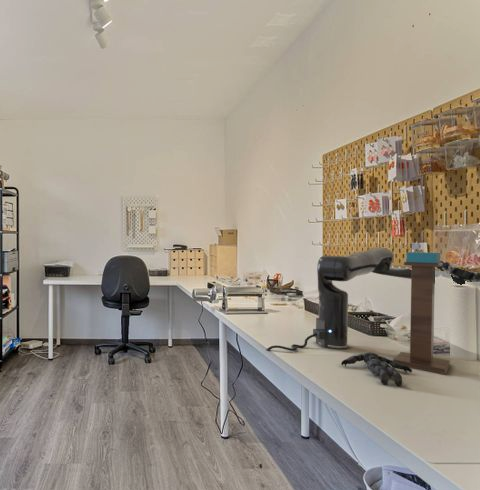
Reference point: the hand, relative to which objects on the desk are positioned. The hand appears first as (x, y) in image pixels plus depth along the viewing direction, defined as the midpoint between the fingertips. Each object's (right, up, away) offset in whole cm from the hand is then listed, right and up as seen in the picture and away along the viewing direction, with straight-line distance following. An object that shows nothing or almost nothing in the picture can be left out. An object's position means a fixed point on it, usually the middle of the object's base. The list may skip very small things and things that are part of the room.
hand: (460, 270), depth 123 cm
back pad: (-18, +3, -7) cm, 19 cm away
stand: (-22, -29, -10) cm, 37 cm away
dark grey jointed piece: (-41, -29, -17) cm, 53 cm away
